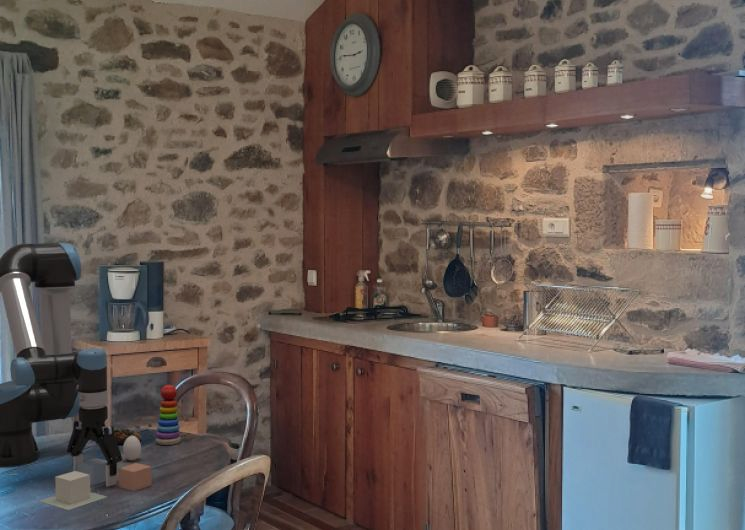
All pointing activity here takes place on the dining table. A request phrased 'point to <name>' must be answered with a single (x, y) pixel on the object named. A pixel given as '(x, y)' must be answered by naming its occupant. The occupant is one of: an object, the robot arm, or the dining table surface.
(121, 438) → the bread roll
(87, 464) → the block
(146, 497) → the dining table surface
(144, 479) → the block
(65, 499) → the block
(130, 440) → the egg
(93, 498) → the plate
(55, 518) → the dining table surface
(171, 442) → the stacking toy
